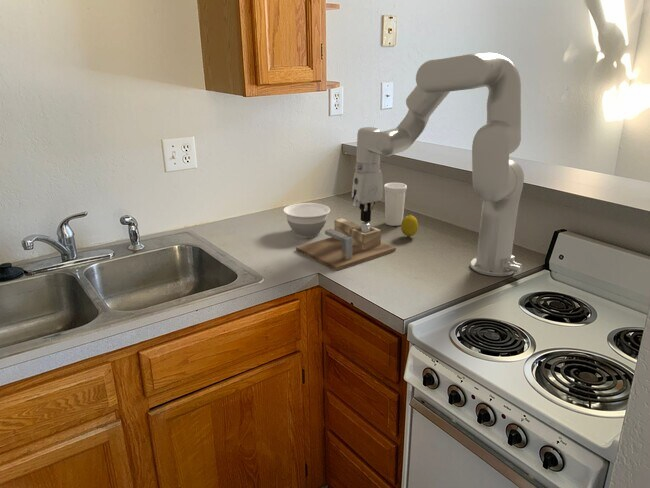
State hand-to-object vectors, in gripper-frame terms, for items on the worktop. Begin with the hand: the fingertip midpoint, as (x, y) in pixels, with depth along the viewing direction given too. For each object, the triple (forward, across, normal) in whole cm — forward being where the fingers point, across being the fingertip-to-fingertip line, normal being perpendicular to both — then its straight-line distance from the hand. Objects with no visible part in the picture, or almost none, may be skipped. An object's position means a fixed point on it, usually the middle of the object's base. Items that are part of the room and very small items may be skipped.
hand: (365, 220), depth 178 cm
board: (+6, -13, -6) cm, 16 cm away
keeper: (+4, -19, -9) cm, 21 cm away
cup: (+6, +17, +3) cm, 18 cm away
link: (+4, -7, -2) cm, 8 cm away
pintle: (+4, -7, -8) cm, 11 cm away
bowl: (+6, -13, +15) cm, 21 cm away
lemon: (+6, +11, -10) cm, 16 cm away
